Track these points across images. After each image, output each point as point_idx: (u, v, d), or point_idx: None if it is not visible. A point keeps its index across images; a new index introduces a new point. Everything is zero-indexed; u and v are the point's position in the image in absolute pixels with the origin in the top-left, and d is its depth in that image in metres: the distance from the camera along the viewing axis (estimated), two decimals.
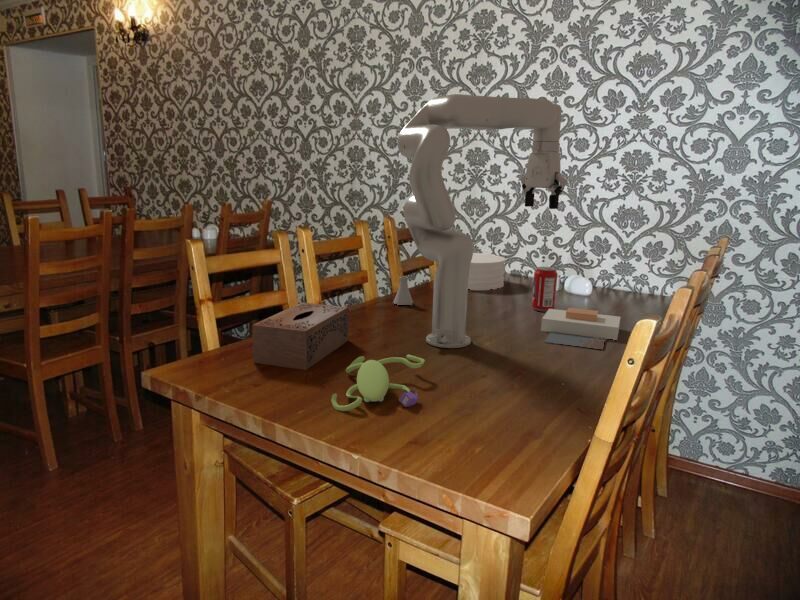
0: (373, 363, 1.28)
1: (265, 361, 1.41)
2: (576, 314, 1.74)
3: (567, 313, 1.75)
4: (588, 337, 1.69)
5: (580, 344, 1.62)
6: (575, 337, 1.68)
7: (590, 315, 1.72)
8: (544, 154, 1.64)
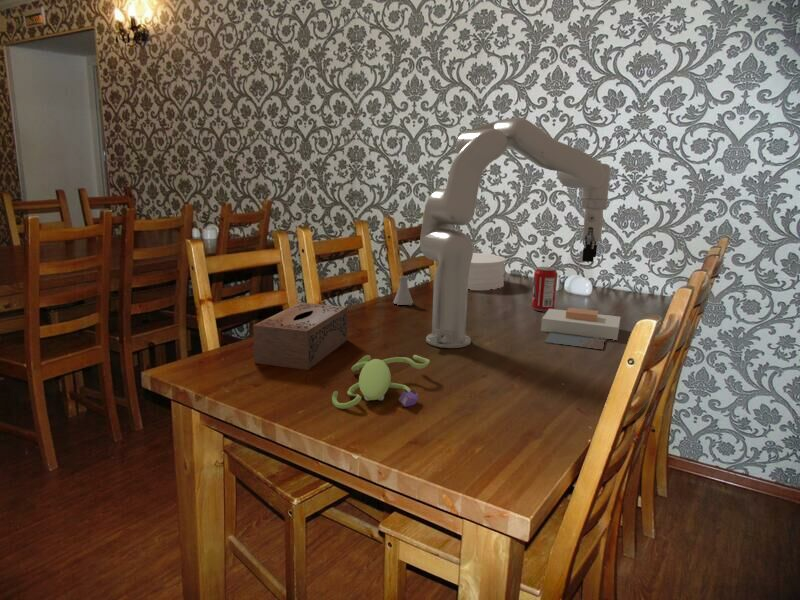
0: (377, 362, 1.28)
1: (266, 361, 1.40)
2: (576, 314, 1.74)
3: (567, 313, 1.75)
4: (588, 337, 1.69)
5: (580, 344, 1.62)
6: (575, 337, 1.68)
7: (590, 315, 1.72)
8: None
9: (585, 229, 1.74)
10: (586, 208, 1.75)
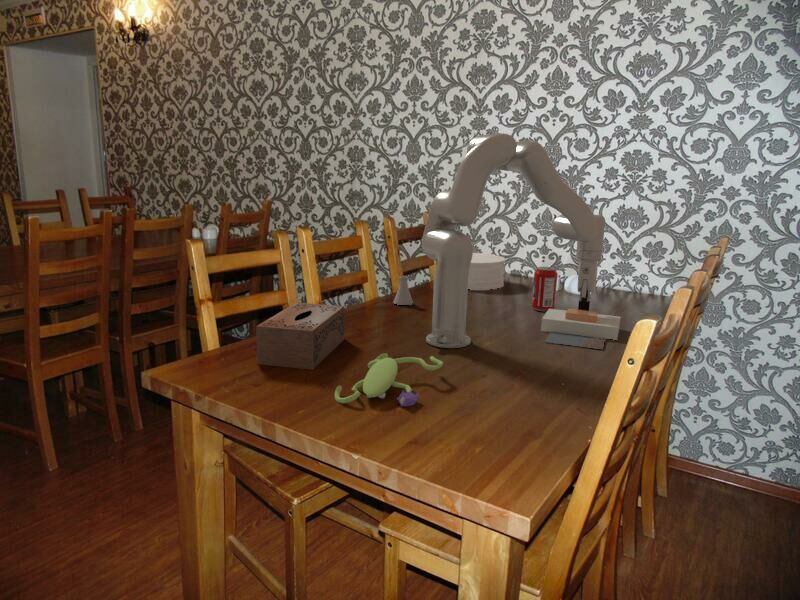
0: (387, 361, 1.30)
1: (270, 362, 1.40)
2: (576, 315, 1.73)
3: (567, 314, 1.74)
4: (588, 337, 1.69)
5: (580, 344, 1.62)
6: (575, 337, 1.68)
7: (590, 316, 1.71)
8: None
9: (579, 281, 1.73)
10: (581, 259, 1.73)
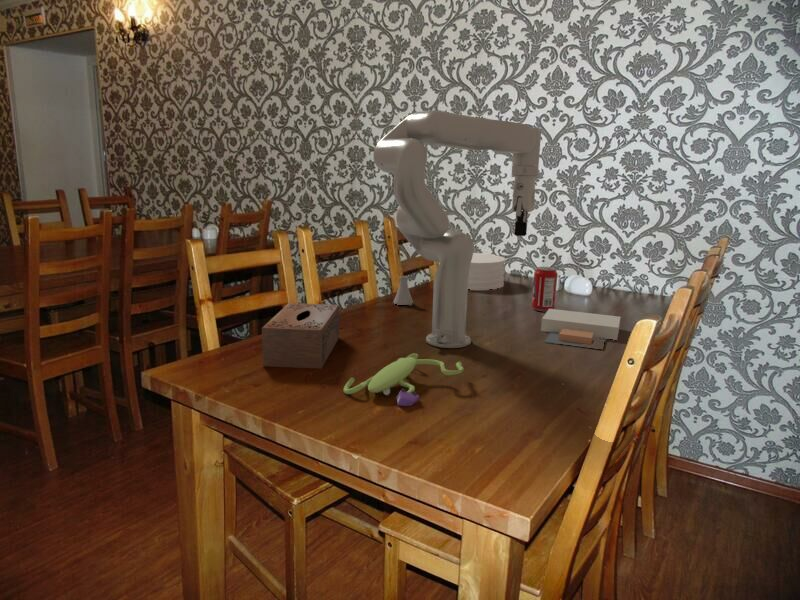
0: (406, 360, 1.31)
1: (276, 363, 1.39)
2: None
3: None
4: None
5: (580, 344, 1.62)
6: None
7: None
8: (534, 178, 1.67)
9: (514, 198, 1.63)
10: (515, 176, 1.64)
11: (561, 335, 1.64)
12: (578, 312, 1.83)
